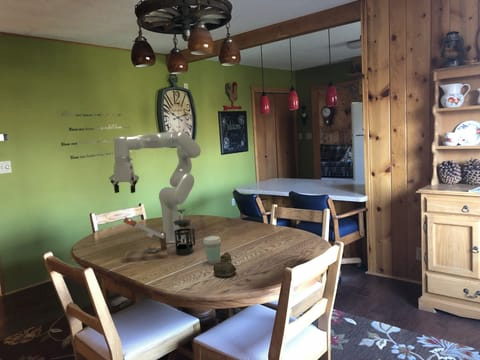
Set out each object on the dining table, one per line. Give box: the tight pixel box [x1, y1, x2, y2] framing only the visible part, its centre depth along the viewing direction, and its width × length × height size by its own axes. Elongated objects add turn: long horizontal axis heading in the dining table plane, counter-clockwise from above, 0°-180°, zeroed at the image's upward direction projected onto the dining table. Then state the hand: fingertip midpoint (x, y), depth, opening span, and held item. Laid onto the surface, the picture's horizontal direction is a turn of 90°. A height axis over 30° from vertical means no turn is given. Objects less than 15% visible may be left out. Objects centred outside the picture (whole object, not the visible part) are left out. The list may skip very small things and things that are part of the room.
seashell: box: [212, 251, 237, 278], centre depth 163 cm, size 11×12×10 cm
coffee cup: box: [202, 235, 222, 265], centre depth 180 cm, size 8×8×12 cm
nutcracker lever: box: [123, 216, 165, 239], centre depth 193 cm, size 22×3×4 cm, turn 100°
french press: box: [173, 209, 196, 256], centre depth 197 cm, size 12×9×23 cm
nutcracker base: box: [122, 232, 169, 263], centre depth 194 cm, size 22×12×11 cm, turn 99°
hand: (125, 192), depth 198 cm, fingers open, 9 cm apart
